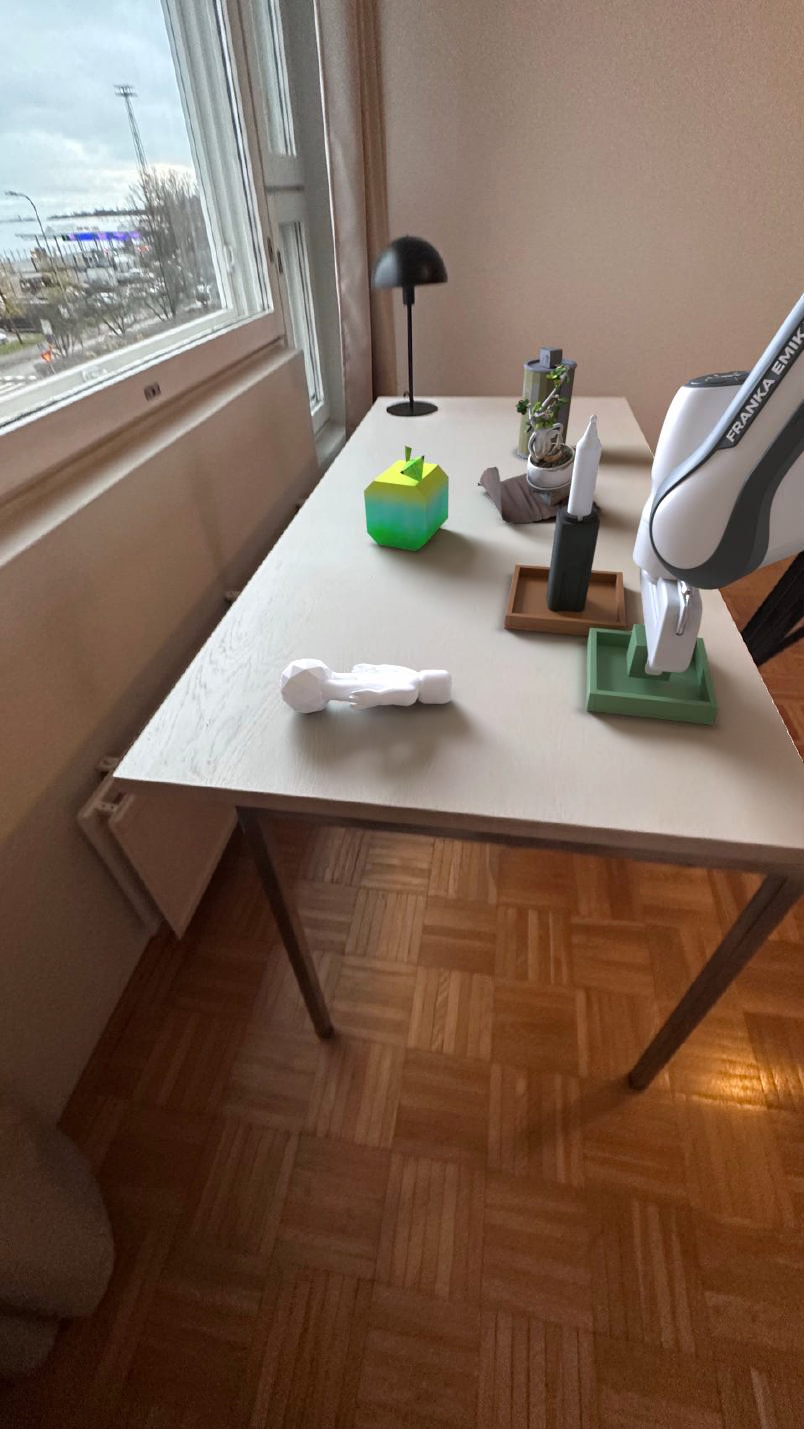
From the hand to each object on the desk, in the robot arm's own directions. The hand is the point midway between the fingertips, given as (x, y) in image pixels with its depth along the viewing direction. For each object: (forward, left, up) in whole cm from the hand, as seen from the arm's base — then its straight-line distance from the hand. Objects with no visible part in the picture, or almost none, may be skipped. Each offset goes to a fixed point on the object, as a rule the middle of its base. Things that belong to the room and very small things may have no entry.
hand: (650, 656), depth 74 cm
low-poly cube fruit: (+37, -35, -4) cm, 51 cm away
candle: (+10, -16, -3) cm, 19 cm away
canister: (+17, -79, -4) cm, 81 cm away
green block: (0, 0, -2) cm, 2 cm away
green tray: (0, 0, -4) cm, 4 cm away
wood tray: (+10, -16, -4) cm, 19 cm away
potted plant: (+17, -52, -4) cm, 55 cm away
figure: (+32, +10, -4) cm, 34 cm away
